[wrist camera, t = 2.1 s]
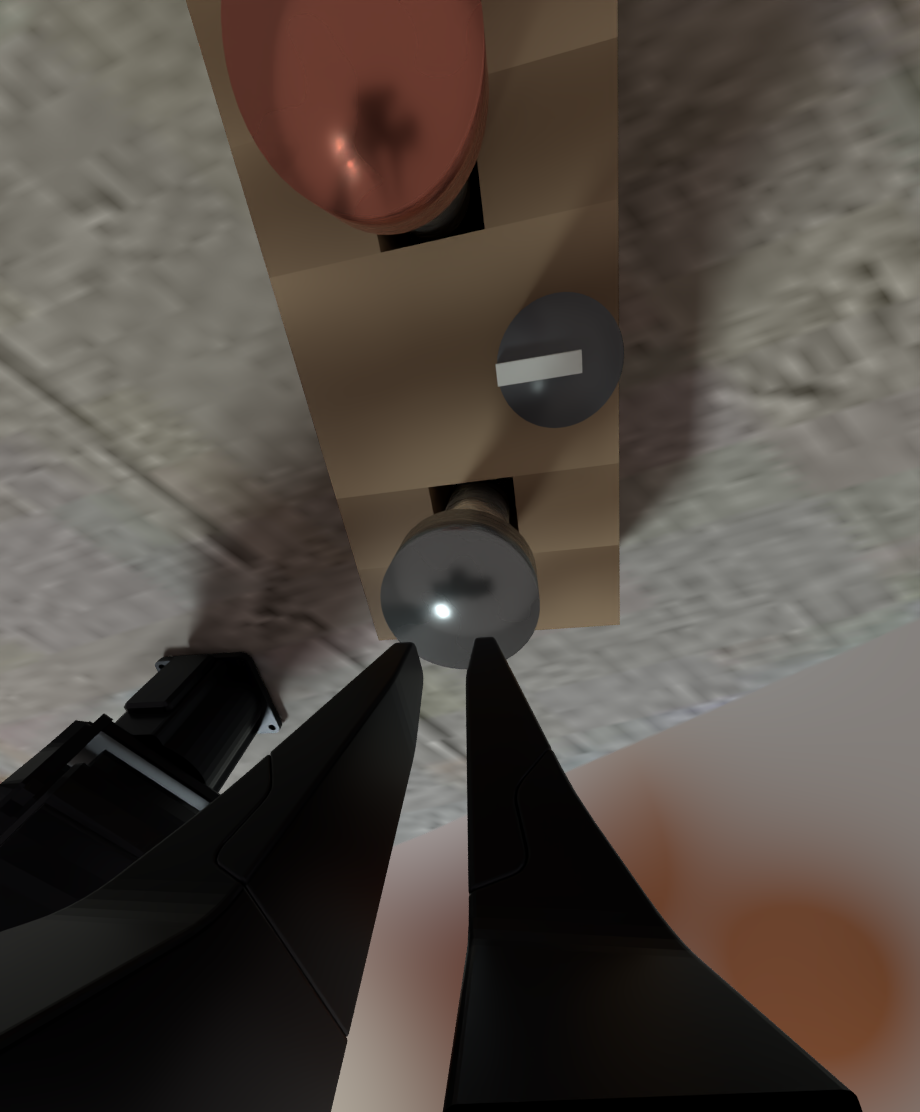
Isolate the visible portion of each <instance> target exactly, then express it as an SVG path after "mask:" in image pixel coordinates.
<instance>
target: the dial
mask: <svg viewBox="0 0 920 1112" xmlns="http://www.w3.org/2000/svg"><path fill="white" fill-rule="evenodd" d="M623 360H624V346H623V340H622V335H621V332H620V329H619V327H618V325H617V323H616V321H615V319H614V317H613V316H612V315H611V313H610V312H609V311H608V310H607V309H606V308H605V307H604V306H603V305H602V304H601V303H599V302H598V301H597V300H595V299H593V298H591V297H589V296H586V295H583V294H580V293H574V292H559V293H553V294H549V295H546V296H543V297H541V298H539V299H537V300H535V301H533V302H532V303H530V304H529V305H527V306H526V307H525V308H524V309H522V310H521V311H520V312H519V313H518V314H517V315H516V317H515V318H514V319H513V320H512V322H511V323H510V325H509V326H508V328H507V330H506V331H505V333H504V336H503V338H502V340H501V343H500V347H499V351H498V356H497V364H496V374H497V382H498V387H499V386H500V389H501V392H502V394H503V396H504V398H505V400H506V401H507V403H508V405H509V406H510V407H511V408H512V409H513V411H514V412H515V413H517V414H518V415H519V416H520V417H521V418H523V419H524V420H526V421H528V422H530V423H532V424H535V425H537V426H541V427H546V428H562V427H567V426H571V425H574V424H577V423H580V422H582V421H584V420H586V419H587V418H589V417H590V416H592V415H593V414H594V413H596V412H597V411H598V410H599V409H600V408H601V407H602V406H603V405H604V404H605V403H606V402H607V400H608V399H609V398H610V396H611V395H612V393H613V391H614V390H615V388H616V386H617V383H618V381H619V378H620V375H621V372H622V367H623Z"/></svg>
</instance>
